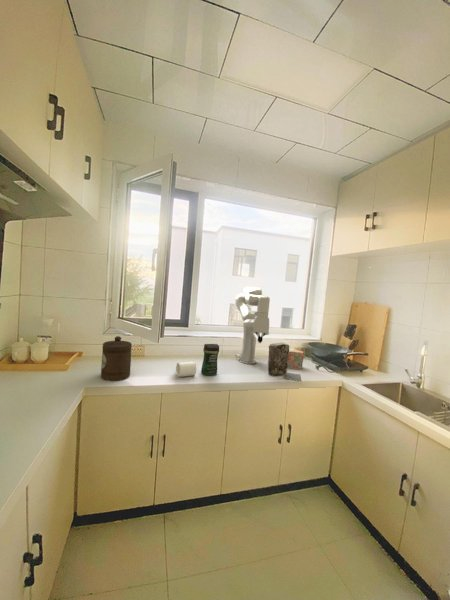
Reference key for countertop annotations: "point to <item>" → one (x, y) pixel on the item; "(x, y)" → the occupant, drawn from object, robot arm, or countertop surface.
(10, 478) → the countertop surface
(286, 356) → the stone block
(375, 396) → the countertop surface
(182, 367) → the mug
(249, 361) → the robot arm
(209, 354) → the coffee jar
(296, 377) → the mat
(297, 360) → the stack of blocks
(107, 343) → the wooden container
